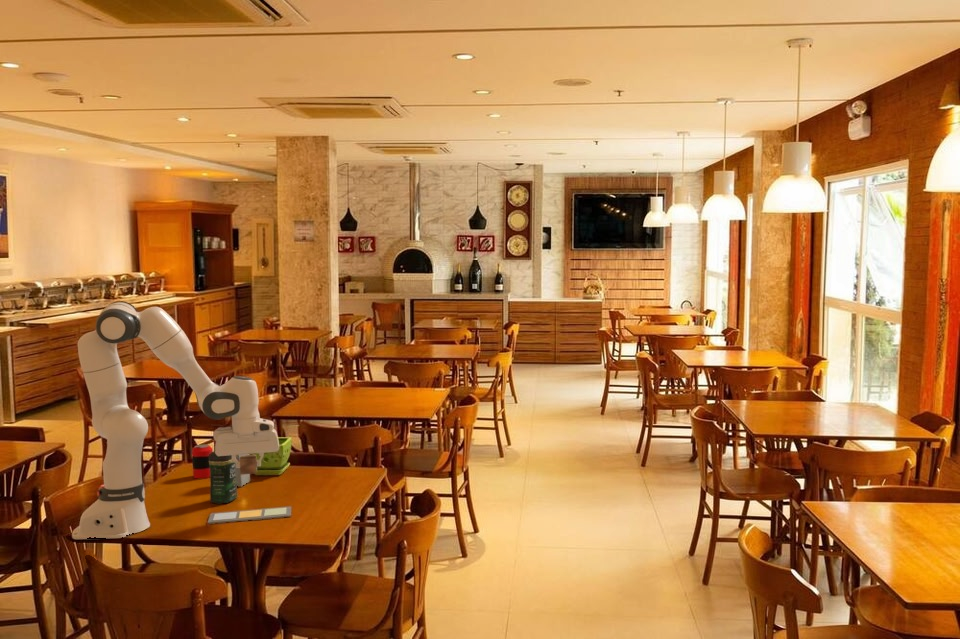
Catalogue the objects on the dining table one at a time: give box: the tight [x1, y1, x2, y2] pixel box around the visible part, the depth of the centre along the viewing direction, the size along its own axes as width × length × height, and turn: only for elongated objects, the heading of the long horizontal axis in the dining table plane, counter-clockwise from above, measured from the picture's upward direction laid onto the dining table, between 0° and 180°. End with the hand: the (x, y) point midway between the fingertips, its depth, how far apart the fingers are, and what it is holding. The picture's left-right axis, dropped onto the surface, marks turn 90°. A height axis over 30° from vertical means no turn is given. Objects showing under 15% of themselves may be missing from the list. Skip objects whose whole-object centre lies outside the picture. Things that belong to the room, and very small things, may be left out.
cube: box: [240, 454, 257, 475], centre depth 276 cm, size 5×5×5 cm
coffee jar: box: [209, 450, 238, 505], centre depth 294 cm, size 10×8×19 cm
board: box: [206, 505, 292, 525], centre depth 276 cm, size 26×10×1 cm, turn 102°
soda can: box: [191, 444, 213, 480], centre depth 328 cm, size 8×8×12 cm
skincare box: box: [235, 454, 251, 488], centre depth 315 cm, size 8×7×16 cm
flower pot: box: [249, 436, 293, 476], centre depth 331 cm, size 14×14×13 cm
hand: (248, 466), depth 276 cm, fingers closed on cube, 5 cm apart
